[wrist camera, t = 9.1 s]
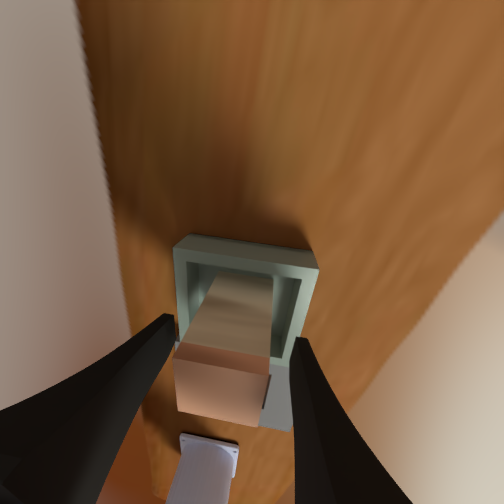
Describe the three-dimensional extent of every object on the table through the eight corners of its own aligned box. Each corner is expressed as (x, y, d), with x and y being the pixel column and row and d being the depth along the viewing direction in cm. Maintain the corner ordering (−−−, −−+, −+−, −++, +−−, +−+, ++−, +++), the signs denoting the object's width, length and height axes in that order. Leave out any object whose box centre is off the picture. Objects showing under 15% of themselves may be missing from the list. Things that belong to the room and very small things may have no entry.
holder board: (289, 418, 22) (289, 432, 21) (185, 397, 23) (181, 409, 22) (311, 354, 18) (313, 367, 16) (180, 330, 18) (174, 341, 17)
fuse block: (266, 321, 16) (257, 427, 10) (217, 312, 16) (177, 410, 10) (273, 279, 14) (268, 376, 8) (218, 270, 14) (172, 357, 8)
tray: (289, 340, 17) (290, 367, 15) (193, 323, 18) (180, 347, 16) (312, 250, 13) (319, 269, 11) (189, 233, 14) (172, 247, 12)
